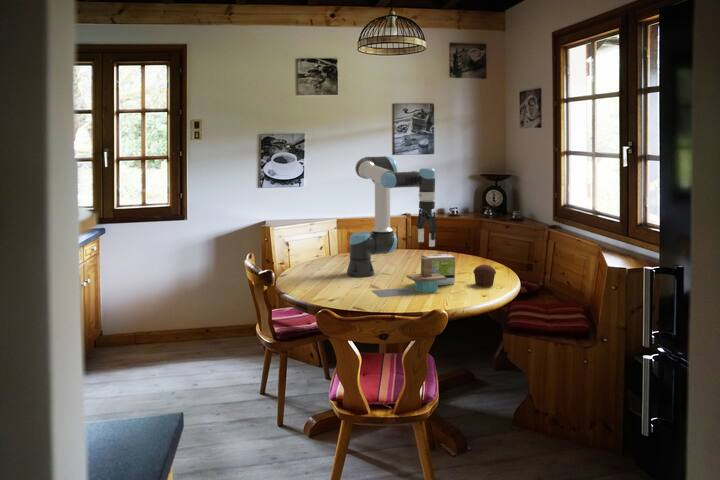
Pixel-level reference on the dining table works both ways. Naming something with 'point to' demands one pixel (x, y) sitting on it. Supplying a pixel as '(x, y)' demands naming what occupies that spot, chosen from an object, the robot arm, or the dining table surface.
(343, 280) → the dining table surface
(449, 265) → the tea box
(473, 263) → the dining table surface
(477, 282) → the muffin
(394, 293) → the charcoal mat
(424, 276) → the walnut lid
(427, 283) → the teal bowl
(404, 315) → the dining table surface
